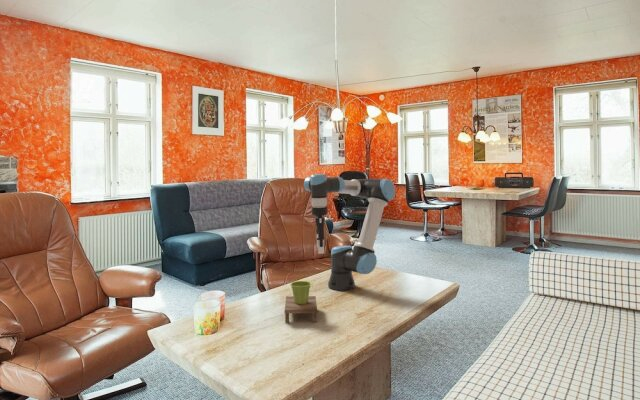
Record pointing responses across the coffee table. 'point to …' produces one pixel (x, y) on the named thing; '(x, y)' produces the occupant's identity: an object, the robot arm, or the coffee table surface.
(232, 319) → the coffee table surface
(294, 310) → the walnut plant stand
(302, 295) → the plant pot
